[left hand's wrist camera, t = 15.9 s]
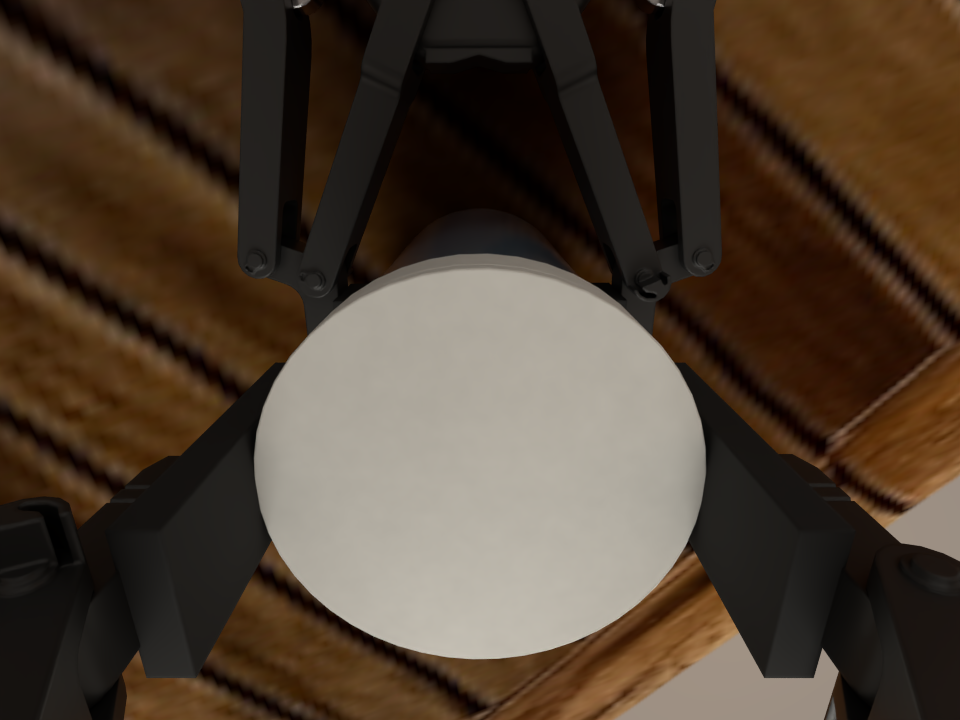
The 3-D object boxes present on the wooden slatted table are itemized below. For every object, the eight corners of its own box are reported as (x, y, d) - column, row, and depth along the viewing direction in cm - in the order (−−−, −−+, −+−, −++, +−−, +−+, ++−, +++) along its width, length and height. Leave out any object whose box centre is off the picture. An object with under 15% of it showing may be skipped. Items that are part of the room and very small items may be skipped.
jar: (439, 401, 27) (393, 665, 13) (362, 253, 25) (202, 378, 10) (590, 339, 26) (724, 554, 12) (527, 177, 24) (600, 201, 9)
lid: (696, 570, 13) (723, 622, 12) (351, 632, 14) (335, 688, 12) (654, 206, 10) (684, 213, 9) (219, 307, 11) (178, 329, 9)
